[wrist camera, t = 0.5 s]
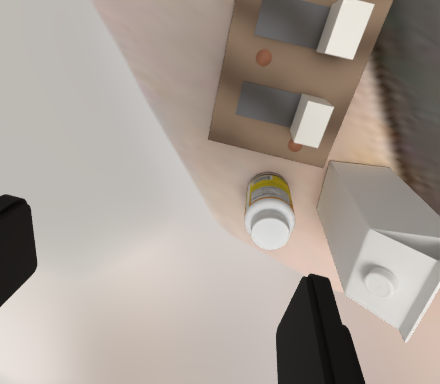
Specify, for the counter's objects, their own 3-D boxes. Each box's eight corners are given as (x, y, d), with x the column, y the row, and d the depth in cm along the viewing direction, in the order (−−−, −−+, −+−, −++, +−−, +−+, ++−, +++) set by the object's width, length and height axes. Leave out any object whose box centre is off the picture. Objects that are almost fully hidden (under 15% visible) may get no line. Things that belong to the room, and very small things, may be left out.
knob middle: (332, 4, 26) (344, -3, 22) (357, 10, 26) (374, 4, 22) (316, 51, 28) (324, 53, 24) (340, 57, 28) (352, 59, 24)
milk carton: (389, 166, 35) (506, 280, 18) (370, 216, 38) (455, 350, 21) (329, 159, 35) (389, 263, 19) (316, 209, 39) (357, 334, 22)
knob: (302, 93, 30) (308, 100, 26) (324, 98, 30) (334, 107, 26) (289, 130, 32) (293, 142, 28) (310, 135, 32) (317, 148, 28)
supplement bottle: (273, 214, 40) (276, 264, 31) (239, 195, 39) (232, 240, 30) (298, 184, 37) (309, 229, 28) (262, 163, 37) (262, 201, 28)
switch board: (274, -183, 23) (275, -204, 21) (444, -145, 23) (461, -163, 21) (210, 134, 36) (207, 140, 34) (319, 161, 36) (323, 168, 34)
